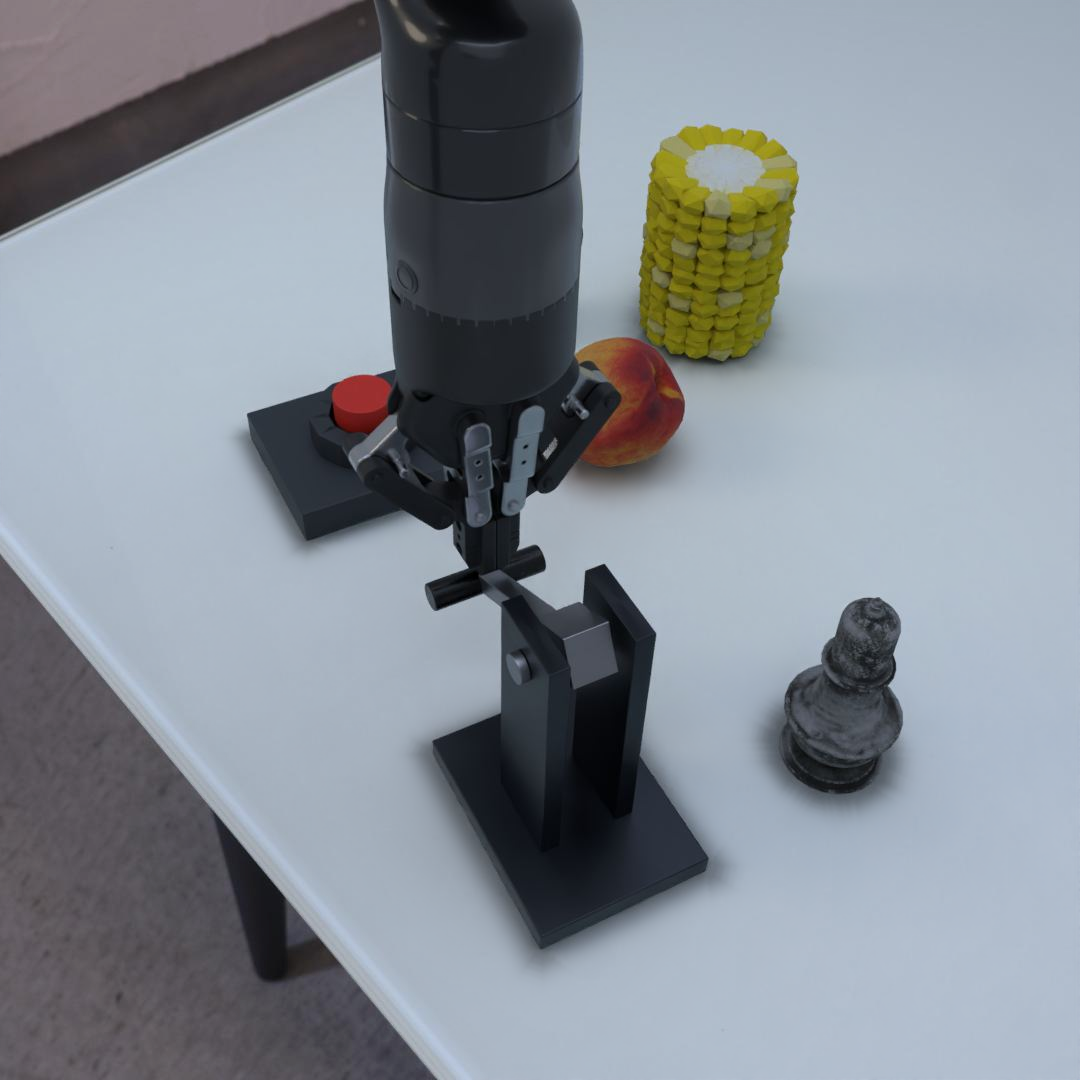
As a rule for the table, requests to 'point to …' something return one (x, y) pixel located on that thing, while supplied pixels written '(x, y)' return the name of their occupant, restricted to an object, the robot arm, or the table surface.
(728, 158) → the food
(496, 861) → the bracket
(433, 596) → the lever
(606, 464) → the fruit
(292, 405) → the control block
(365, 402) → the button
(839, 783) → the black chess piece
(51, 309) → the table surface
